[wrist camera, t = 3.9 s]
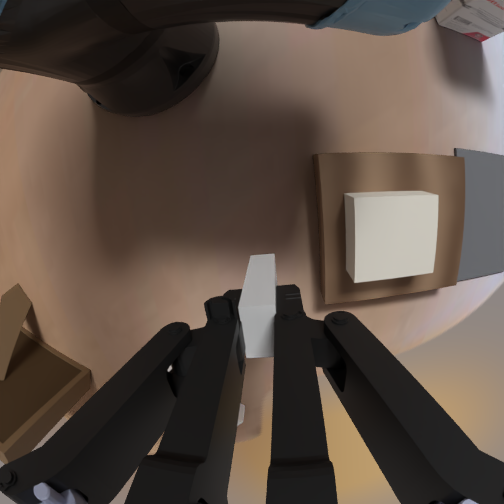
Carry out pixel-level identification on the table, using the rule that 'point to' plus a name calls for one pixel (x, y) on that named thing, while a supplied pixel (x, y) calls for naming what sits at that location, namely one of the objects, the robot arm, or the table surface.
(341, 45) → the table surface
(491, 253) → the mat
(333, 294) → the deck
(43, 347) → the photo frame
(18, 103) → the table surface
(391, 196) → the cream rectangular block
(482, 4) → the ink box
